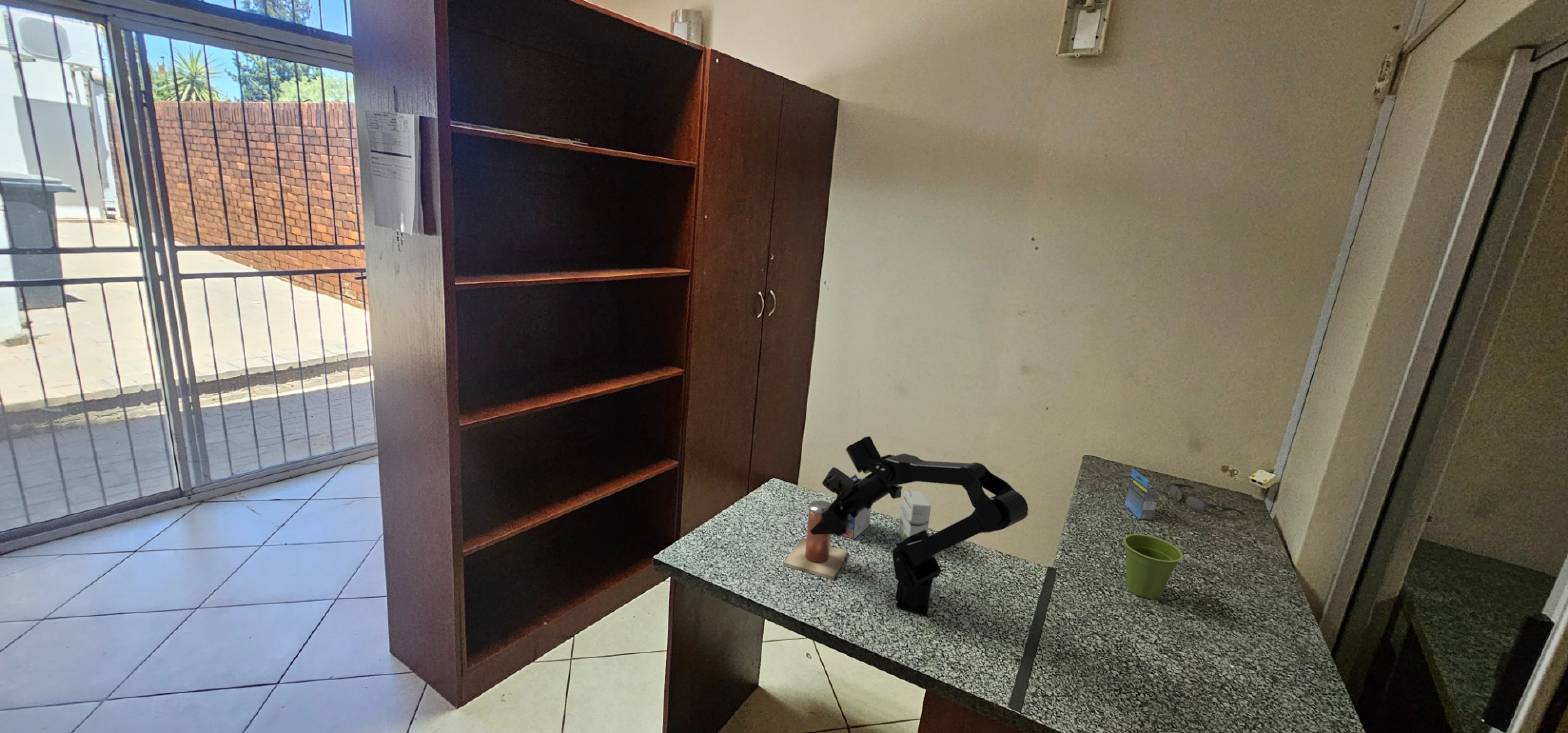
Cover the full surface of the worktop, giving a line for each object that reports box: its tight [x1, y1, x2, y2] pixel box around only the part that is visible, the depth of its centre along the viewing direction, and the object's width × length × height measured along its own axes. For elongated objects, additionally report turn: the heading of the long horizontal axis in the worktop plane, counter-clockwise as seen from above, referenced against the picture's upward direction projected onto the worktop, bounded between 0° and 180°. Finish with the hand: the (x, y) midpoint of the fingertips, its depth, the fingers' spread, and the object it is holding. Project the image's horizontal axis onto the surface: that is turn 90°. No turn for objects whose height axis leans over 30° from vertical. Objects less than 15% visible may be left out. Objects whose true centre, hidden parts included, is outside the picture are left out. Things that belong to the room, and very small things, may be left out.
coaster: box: [783, 538, 849, 580], centre depth 144 cm, size 12×12×1 cm
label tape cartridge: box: [1124, 467, 1159, 521], centre depth 179 cm, size 9×4×12 cm, turn 179°
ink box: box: [897, 490, 932, 540], centre depth 155 cm, size 9×5×12 cm, turn 6°
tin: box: [805, 500, 832, 563], centre depth 142 cm, size 6×6×13 cm
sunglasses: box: [1168, 482, 1244, 515], centre depth 190 cm, size 16×17×5 cm
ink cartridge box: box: [842, 473, 872, 540], centre depth 157 cm, size 10×6×14 cm, turn 148°
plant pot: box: [1122, 533, 1184, 600], centre depth 140 cm, size 12×12×11 cm
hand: (817, 523), depth 141 cm, fingers open, 9 cm apart
